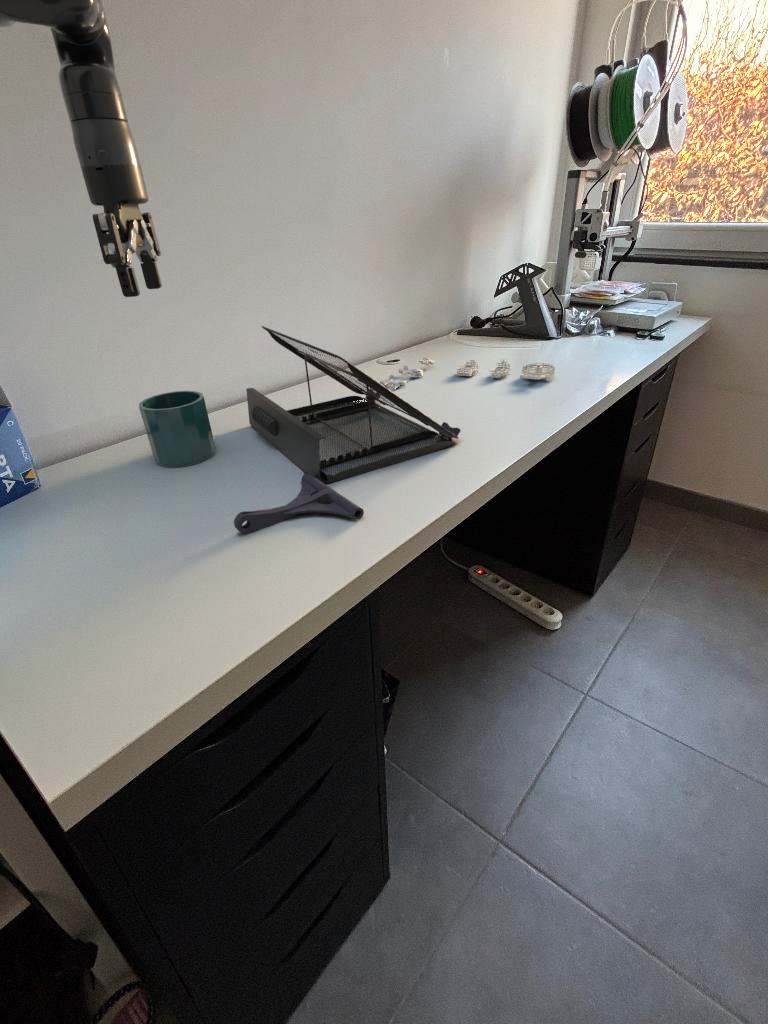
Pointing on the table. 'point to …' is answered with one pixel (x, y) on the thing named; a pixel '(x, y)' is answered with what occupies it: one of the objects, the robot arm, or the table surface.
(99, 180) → the robot arm
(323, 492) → the bracket
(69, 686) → the table surface
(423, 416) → the laptop stand
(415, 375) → the drone parts
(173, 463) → the pen pot
